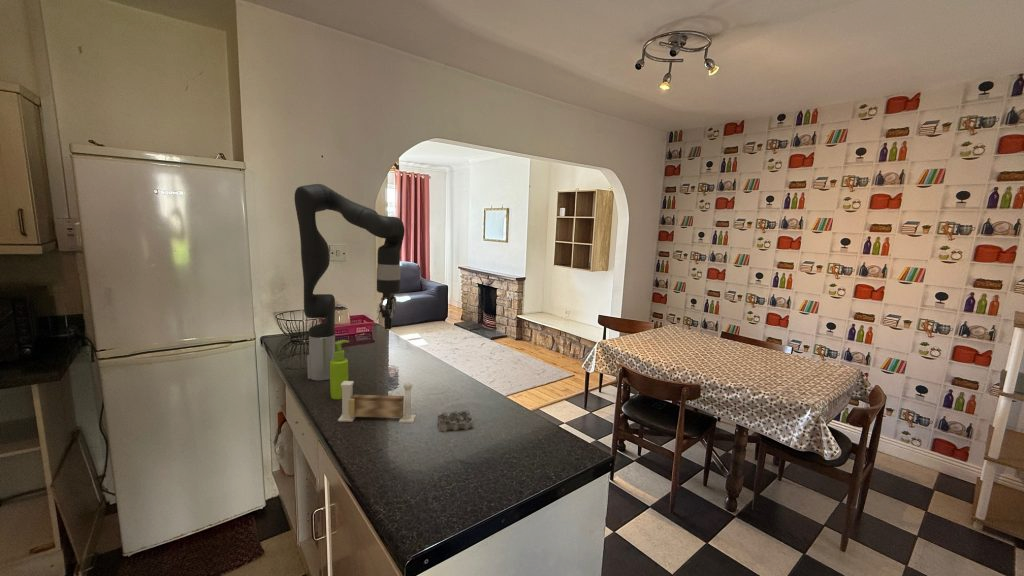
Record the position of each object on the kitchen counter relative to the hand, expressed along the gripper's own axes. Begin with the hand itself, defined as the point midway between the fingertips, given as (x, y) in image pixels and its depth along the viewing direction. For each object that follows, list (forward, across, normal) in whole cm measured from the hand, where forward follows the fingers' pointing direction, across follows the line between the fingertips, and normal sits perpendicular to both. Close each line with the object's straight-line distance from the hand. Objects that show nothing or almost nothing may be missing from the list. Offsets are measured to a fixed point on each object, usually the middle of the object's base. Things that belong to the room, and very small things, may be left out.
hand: (388, 328), depth 135 cm
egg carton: (+27, -14, -24) cm, 39 cm away
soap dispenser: (+27, +6, +18) cm, 33 cm away
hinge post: (+27, -11, -9) cm, 30 cm away
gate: (+26, -11, 0) cm, 28 cm away
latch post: (+27, -11, +10) cm, 31 cm away
